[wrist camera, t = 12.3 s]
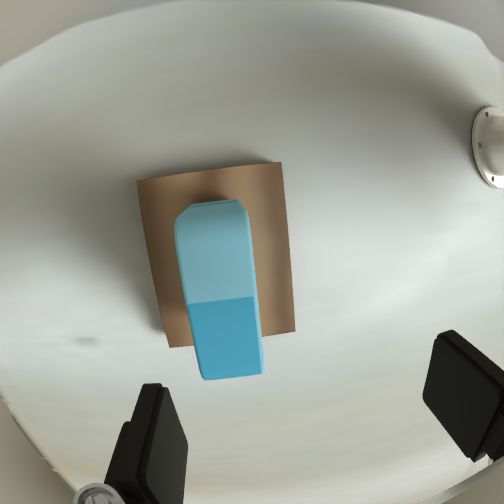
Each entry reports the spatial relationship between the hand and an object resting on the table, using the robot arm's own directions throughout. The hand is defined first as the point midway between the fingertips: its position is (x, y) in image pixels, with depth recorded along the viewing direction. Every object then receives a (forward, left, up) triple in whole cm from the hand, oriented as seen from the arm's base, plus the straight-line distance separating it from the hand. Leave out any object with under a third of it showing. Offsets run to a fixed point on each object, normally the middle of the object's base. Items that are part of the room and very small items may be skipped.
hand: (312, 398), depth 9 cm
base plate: (+3, +1, -25) cm, 25 cm away
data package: (+3, +1, -22) cm, 23 cm away
